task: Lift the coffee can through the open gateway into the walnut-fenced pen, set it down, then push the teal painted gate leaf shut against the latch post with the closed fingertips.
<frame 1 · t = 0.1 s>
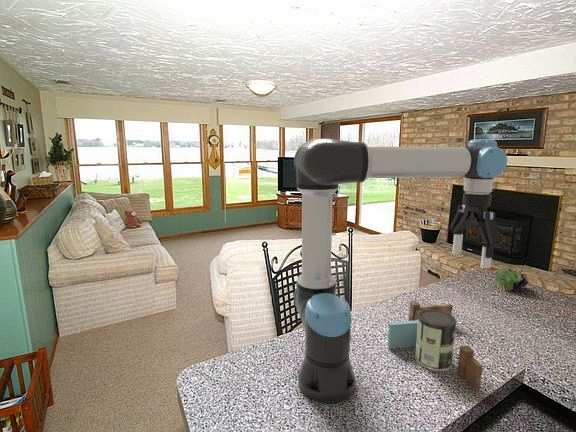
hand: (470, 260, 105), 28 cm above the breakfast bar, fingers open, 13 cm apart
gate: (411, 333, 107), point 5 cm above the breakfast bar, hinge at 90.0°
green and purple plant: (511, 289, 152), on the breakfast bar
fence: (443, 357, 102), on the breakfast bar
coffee can: (432, 361, 101), on the breakfast bar
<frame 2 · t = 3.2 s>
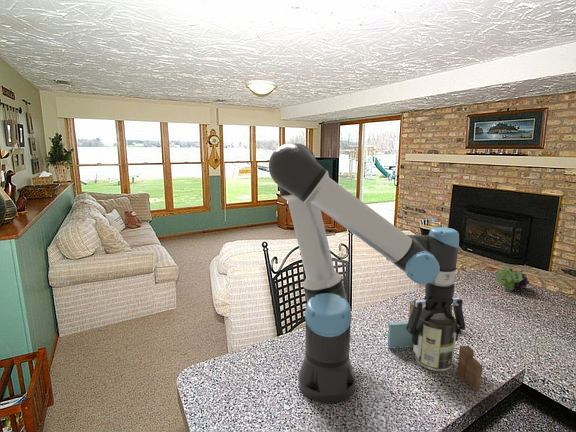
hand: (433, 352, 100), 3 cm above the breakfast bar, fingers closed on coffee can, 10 cm apart
coffee can: (432, 361, 101), on the breakfast bar, touching gripper
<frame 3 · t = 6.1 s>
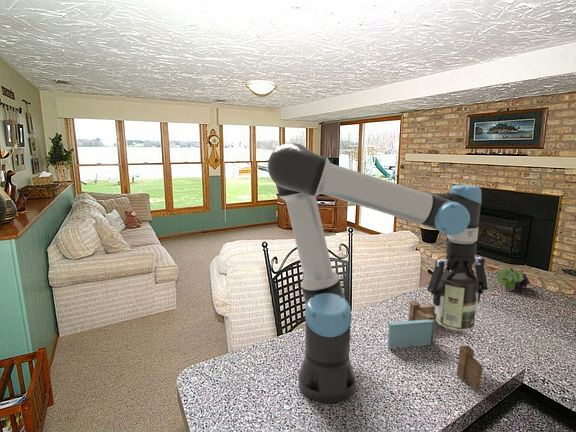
hand: (455, 313, 99), 15 cm above the breakfast bar, fingers closed on coffee can, 10 cm apart
coffee can: (454, 322, 100), point 12 cm above the breakfast bar, touching gripper
when the fingers open (5 cm above the breakfast bar, at t = 8.9 s): coffee can drops 2 cm, on the breakfast bar.
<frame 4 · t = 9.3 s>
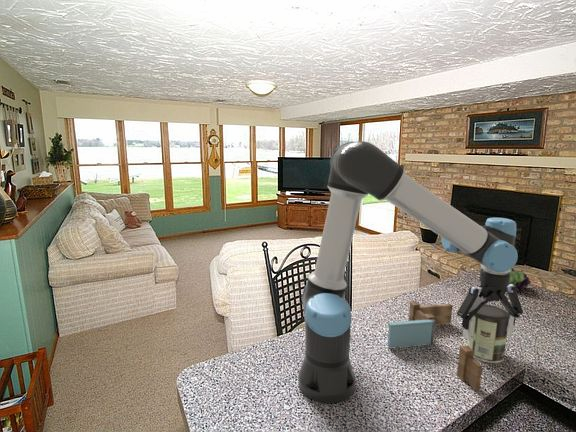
hand: (487, 336, 103), 6 cm above the breakfast bar, fingers open, 13 cm apart
coffee can: (484, 353, 104), on the breakfast bar
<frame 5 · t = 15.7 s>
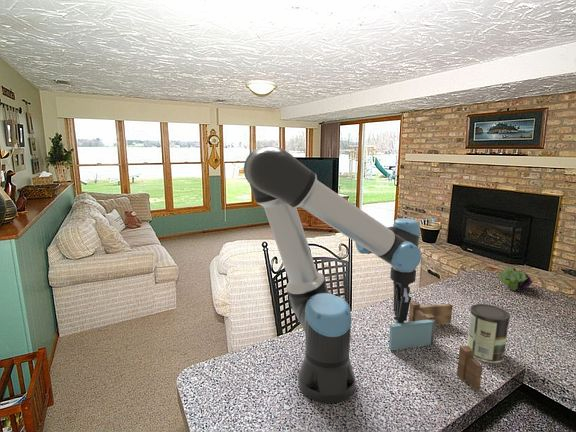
hand: (398, 335, 111), 2 cm above the breakfast bar, fingers closed
gate: (412, 334, 107), point 4 cm above the breakfast bar, hinge at 85.9°, touching gripper
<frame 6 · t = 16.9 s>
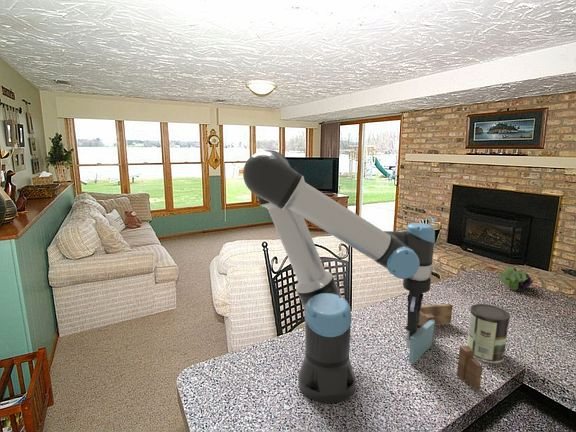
hand: (411, 347, 104), 2 cm above the breakfast bar, fingers closed
gate: (422, 340, 103), point 4 cm above the breakfast bar, hinge at 52.9°, touching gripper
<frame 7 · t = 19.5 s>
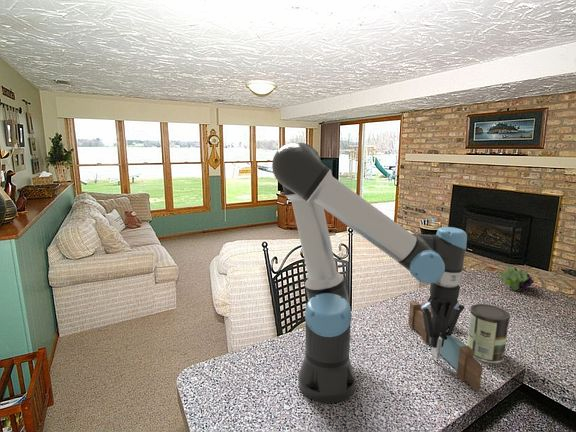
hand: (435, 356, 100), 2 cm above the breakfast bar, fingers closed
gate: (445, 344, 101), point 5 cm above the breakfast bar, hinge at -1.9°, touching gripper
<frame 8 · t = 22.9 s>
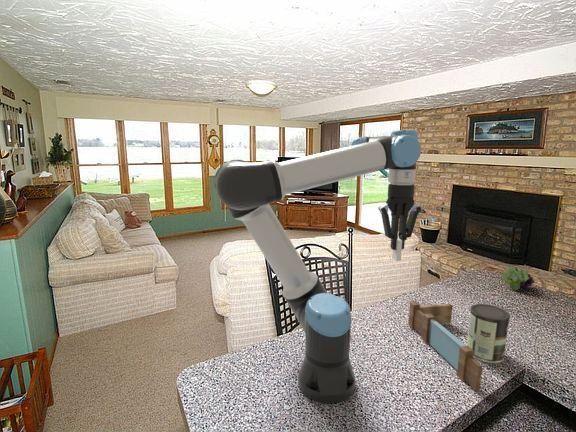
hand: (396, 259, 105), 28 cm above the breakfast bar, fingers closed
gate: (445, 344, 101), point 5 cm above the breakfast bar, hinge at -1.6°
at the end: gate at -2° (first picture: +90°); coffee can inside the target area (1.7 cm from its centre), on the breakfast bar; coffee can tilted 0° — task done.
